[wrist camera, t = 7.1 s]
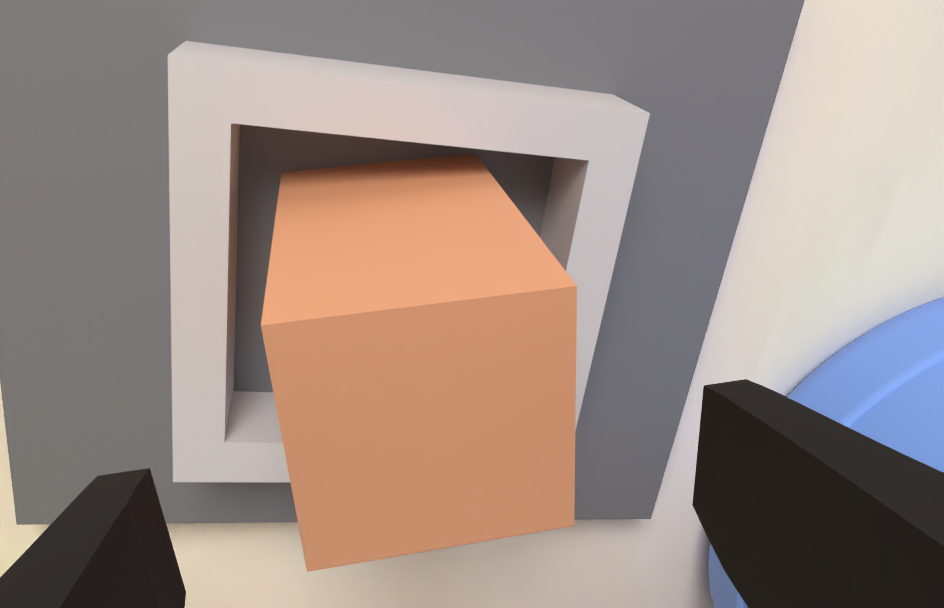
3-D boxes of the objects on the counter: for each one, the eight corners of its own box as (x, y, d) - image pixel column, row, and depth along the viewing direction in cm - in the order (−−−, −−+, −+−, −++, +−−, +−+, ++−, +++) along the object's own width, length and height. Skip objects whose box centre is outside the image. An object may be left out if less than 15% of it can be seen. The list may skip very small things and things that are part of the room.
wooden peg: (475, 153, 16) (577, 286, 10) (483, 322, 18) (574, 526, 12) (281, 172, 16) (260, 325, 9) (308, 345, 17) (307, 571, 11)
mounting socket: (783, -22, 17) (872, -15, 14) (637, 495, 22) (681, 571, 20) (-38, -162, 13) (-126, -188, 11) (30, 496, 19) (-17, 589, 16)
